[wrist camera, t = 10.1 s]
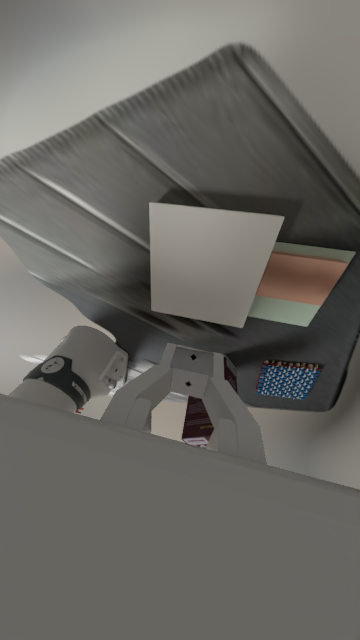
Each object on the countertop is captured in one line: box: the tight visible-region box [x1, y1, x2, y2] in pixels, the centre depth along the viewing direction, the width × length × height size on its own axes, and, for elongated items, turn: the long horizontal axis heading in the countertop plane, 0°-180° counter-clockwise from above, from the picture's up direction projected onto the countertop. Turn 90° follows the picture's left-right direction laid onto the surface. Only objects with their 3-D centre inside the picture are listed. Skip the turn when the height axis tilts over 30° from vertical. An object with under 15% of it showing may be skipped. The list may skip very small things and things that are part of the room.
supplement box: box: [182, 355, 238, 449], centre depth 33 cm, size 9×5×16 cm, turn 127°
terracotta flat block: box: [256, 250, 349, 306], centre depth 24 cm, size 6×9×2 cm, turn 85°
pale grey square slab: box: [149, 202, 285, 328], centre depth 26 cm, size 16×16×3 cm
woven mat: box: [256, 360, 321, 399], centre depth 36 cm, size 10×11×2 cm
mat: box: [247, 242, 356, 327], centre depth 26 cm, size 12×10×1 cm
